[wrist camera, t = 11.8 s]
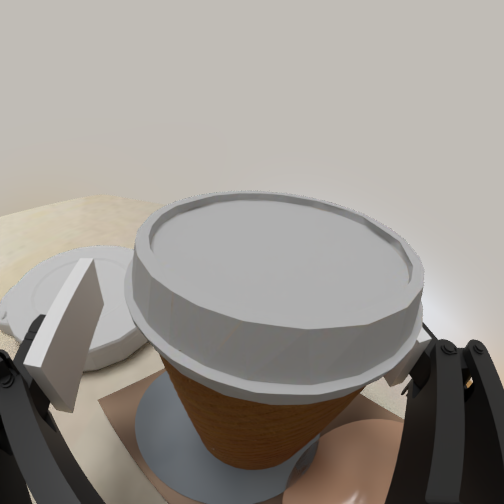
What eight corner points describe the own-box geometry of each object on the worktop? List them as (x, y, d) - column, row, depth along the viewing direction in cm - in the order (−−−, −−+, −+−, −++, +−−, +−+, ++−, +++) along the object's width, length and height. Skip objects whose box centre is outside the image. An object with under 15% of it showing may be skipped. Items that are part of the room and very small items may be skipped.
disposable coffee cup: (319, 508, 8) (491, 374, 3) (143, 459, 10) (42, 269, 5) (336, 380, 17) (399, 213, 11) (206, 350, 19) (204, 179, 13)
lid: (30, 269, 27) (25, 249, 26) (167, 263, 33) (166, 241, 31) (-22, 365, 13) (-37, 341, 11) (173, 379, 18) (168, 354, 17)
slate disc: (106, 402, 13) (104, 399, 13) (233, 336, 21) (234, 333, 20) (220, 541, 7) (220, 541, 7) (350, 422, 14) (352, 419, 14)
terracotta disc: (236, 509, 9) (236, 509, 9) (353, 396, 16) (355, 392, 16) (389, 591, 2) (393, 591, 2) (466, 458, 9) (470, 456, 9)
